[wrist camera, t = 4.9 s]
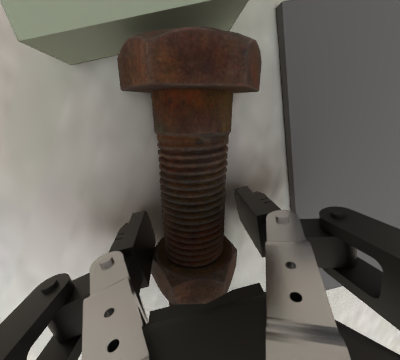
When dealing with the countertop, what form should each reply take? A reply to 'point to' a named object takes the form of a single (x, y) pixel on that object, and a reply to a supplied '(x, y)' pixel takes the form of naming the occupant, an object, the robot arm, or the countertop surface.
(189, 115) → the bolt
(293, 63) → the mat
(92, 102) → the countertop surface
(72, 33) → the rails
